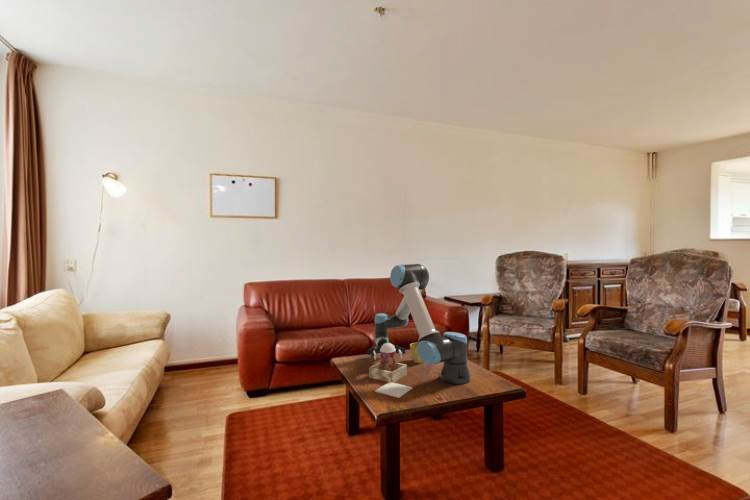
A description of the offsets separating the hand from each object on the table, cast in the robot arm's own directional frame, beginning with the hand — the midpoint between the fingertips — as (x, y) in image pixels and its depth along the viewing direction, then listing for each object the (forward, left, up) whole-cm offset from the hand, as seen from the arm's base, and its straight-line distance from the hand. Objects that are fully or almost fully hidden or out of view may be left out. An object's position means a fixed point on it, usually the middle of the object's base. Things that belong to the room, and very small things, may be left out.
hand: (388, 356), depth 191 cm
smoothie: (+2, -2, -11) cm, 11 cm away
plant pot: (-1, -31, -11) cm, 33 cm away
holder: (+2, -2, -11) cm, 11 cm away
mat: (-10, +12, -11) cm, 19 cm away
